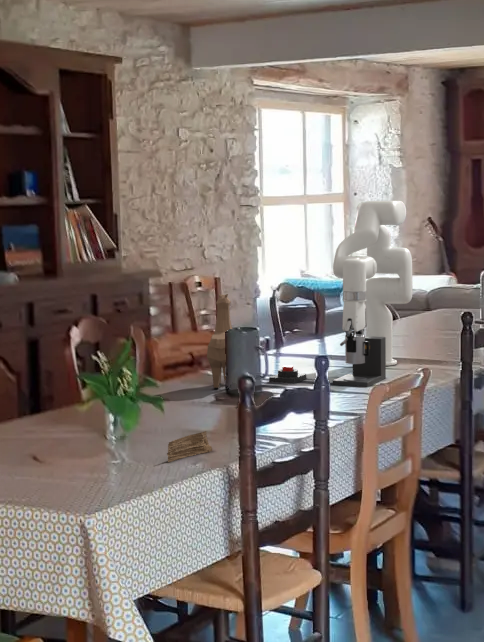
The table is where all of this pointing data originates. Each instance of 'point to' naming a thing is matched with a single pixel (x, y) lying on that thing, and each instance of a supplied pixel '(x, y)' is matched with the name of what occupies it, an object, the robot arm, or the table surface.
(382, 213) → the robot arm
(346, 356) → the kettle
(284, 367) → the power button
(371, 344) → the coffee maker
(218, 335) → the toy
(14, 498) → the table surface
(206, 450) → the wood plank
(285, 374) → the switch block
